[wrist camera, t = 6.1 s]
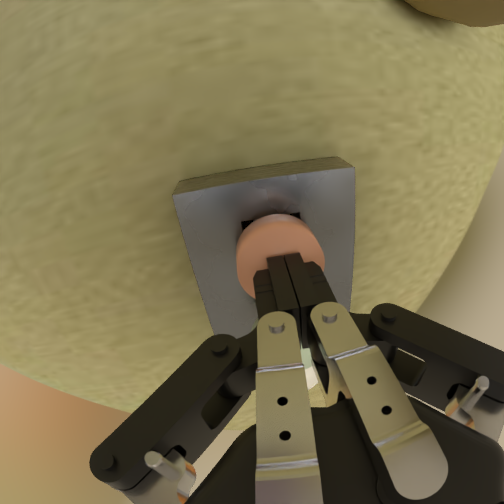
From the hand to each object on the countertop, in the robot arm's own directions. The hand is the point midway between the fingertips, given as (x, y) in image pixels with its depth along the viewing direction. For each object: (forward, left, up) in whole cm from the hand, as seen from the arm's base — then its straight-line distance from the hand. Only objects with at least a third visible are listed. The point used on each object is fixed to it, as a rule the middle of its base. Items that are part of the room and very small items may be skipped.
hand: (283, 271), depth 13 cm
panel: (+4, 0, -5) cm, 7 cm away
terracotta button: (0, 0, -4) cm, 4 cm away
